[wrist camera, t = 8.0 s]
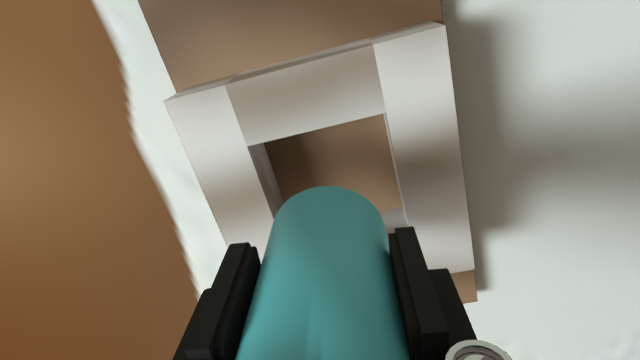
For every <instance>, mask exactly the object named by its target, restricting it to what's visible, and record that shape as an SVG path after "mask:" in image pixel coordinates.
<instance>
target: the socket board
mask: <svg viewBox="0 0 640 360" xmlns="http://www.w3.org/2000/svg"><path fill="white" fill-rule="evenodd" d="M138 2H139V5H140V7H141V10H142V12H143V14H144V17H145V19H146V21H147V24H148V26H149V28H150V31H151V33H152V36H153V38H154V40H155V43H156V45H157V47H158V50H159V52H160V55H161V57H162V59H163V62H164V64H165V66H166V69H167V71H168V74H169V76H170V78H171V81H172V83H173V85H174V88H175V90H176V94H175V95H173V96H171V97H170V98H168V99H167V100H165V101H163V102H164V104H165V107H166V109H167V111H168V113H169V116H170V118H171V120H172V122H173V125H174V127H175V129H176V132H177V134H178V136H179V138H180V141H181V143H182V145H183V147H184V150H185V152H186V154H187V157H188V159H189V161H190V163H191V166H192V168H193V170H194V172H195V175H196V177H197V179H198V182H199V184H200V186H201V188H202V191H203V193H204V195H205V197H206V200H207V202H208V204H209V207H210V209H211V211H212V213H213V216H214V218H215V220H216V222H217V225H218V227H219V229H220V232H221V234H222V236H223V238H224V241H225V243H226V245H227V247H229V245H230V244H234V243H244V242H249V243H250V245H251V247H252V246H256V248H257V250H258V254H259V258H260V262H261V264H262V260H263V257H264V253H265V249H266V246H267V242H268V239H269V235H270V232H271V228H272V224H273V221H274V218H275V216H276V214H277V212H278V211H279V209H280V208H281V206H282V205H283V204H284V203H285V202H286V201H287V200H288V199H290V198H291V197H292V196H294V195H296V194H297V193H299V192H302V191H304V190H307V189H310V188H314V187H320V186H336V187H341V188H346V189H349V190H352V191H354V192H356V193H358V194H360V195H362V196H363V197H365V198H366V199H367V200H369V201H370V202H371V203H372V204H373V205H374V206H375V207H376V209H377V210H378V212H379V213H380V215H381V217H382V219H383V222H384V225H385V230H386V234H387V239H388V233H395V228H400V227H410V226H413V227H414V229H415V232H416V235H417V238H418V241H419V244H420V247H421V250H422V253H423V256H424V259H425V262H426V265H427V268H428V270H430V269H442V268H447V269H448V270H449V272H450V274H451V277H452V279H453V282H454V284H455V287H456V289H457V291H458V294H459V296H460V299H461V301H462V304H464V303H470V302H476V301H477V293H476V285H475V276H474V269H475V264H474V256H473V248H472V240H471V231H470V223H469V215H468V207H467V198H466V190H465V182H464V174H463V165H462V157H461V149H460V141H459V132H458V124H457V116H456V108H455V99H454V91H453V83H452V75H451V66H450V58H449V50H448V42H447V33H446V25H443V17H442V8H441V0H138ZM388 244H389V240H388Z"/></svg>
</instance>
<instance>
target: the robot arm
mask: <svg viewBox="0 0 640 360" xmlns="http://www.w3.org/2000/svg"><path fill="white" fill-rule="evenodd" d="M388 240H389V253H390V259H391V264H392V269H393V274H394V279H395V283H396V288H397V293H398V298H399V303H400V308H401V313H402V318H403V322H404V327H405V332H406V337H407V342H408V347H409V352H410V357H411V360H512V359H511V358H510V356H509V355H508V354H507V353H506V352H505V351H503V350H502V349H500V348H499V347H498V346H496V345H493V344H491V343H488V342H485V341H480V340H477V338H476V336H475V333H474V331H473V328H472V326H471V323H470V321H469V318H468V316H467V314H466V311H465V309H464V306H463V304H462V301H461V299H460V296H459V294H458V291H457V289H456V287H455V284H454V282H453V279H452V277H451V274H450V272H449V270H448V269H447V268H442V269H430V270H428V268H427V265H426V262H425V259H424V256H423V253H422V250H421V247H420V244H419V241H418V238H417V235H416V232H415V229H414V227H413V226H410V227H400V228H395V233H388ZM260 267H261V262H260V258H259V254H258V250H257V248H256V246H252V247H251V245H250V243H249V242H244V243H234V244H230V245H229V247H228V249H227V252H226V254H225V256H224V259H223V261H222V263H221V266H220V268H219V270H218V273H217V275H216V277H215V280H214V282H213V285H212V287H211V288H209V289H206V290H204V291H203V293H202V295H201V297H200V299H199V302H198V304H197V306H196V308H195V311H194V313H193V315H192V317H191V319H190V322H189V324H188V326H187V329H186V331H185V333H184V335H183V337H182V339H181V342H180V344H179V346H178V348H177V351H176V353H175V355H174V357H173V360H235V357H236V353H237V350H238V346H239V343H240V339H241V336H242V332H243V328H244V325H245V321H246V318H247V314H248V310H249V307H250V303H251V300H252V296H253V293H254V289H255V285H256V282H257V278H258V275H259V271H260Z"/></svg>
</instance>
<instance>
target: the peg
mask: <svg viewBox="0 0 640 360" xmlns="http://www.w3.org/2000/svg"><path fill="white" fill-rule="evenodd" d="M235 360H411V357H410V352H409V347H408V342H407V337H406V332H405V327H404V322H403V318H402V313H401V308H400V303H399V298H398V293H397V288H396V283H395V279H394V274H393V269H392V264H391V259H390V253H389V244H388V239H387V234H386V230H385V225H384V222H383V219H382V217H381V215H380V213H379V212H378V210H377V209H376V207H375V206H374V205H373V204H372V203H371V202H370V201H369V200H367V199H366V198H365V197H363V196H362V195H360V194H358V193H356V192H354V191H352V190H349V189H346V188H341V187H336V186H320V187H314V188H310V189H307V190H304V191H302V192H299V193H297V194H296V195H294V196H292V197H291V198H290V199H288V200H287V201H286V202H285V203H284V204H283V205H282V206H281V208H280V209H279V211H278V212H277V214H276V216H275V218H274V221H273V224H272V228H271V232H270V235H269V239H268V242H267V246H266V249H265V253H264V257H263V260H262V264H261V267H260V271H259V275H258V278H257V282H256V285H255V289H254V293H253V296H252V300H251V303H250V307H249V310H248V314H247V318H246V321H245V325H244V328H243V332H242V336H241V339H240V343H239V346H238V350H237V353H236V357H235Z"/></svg>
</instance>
